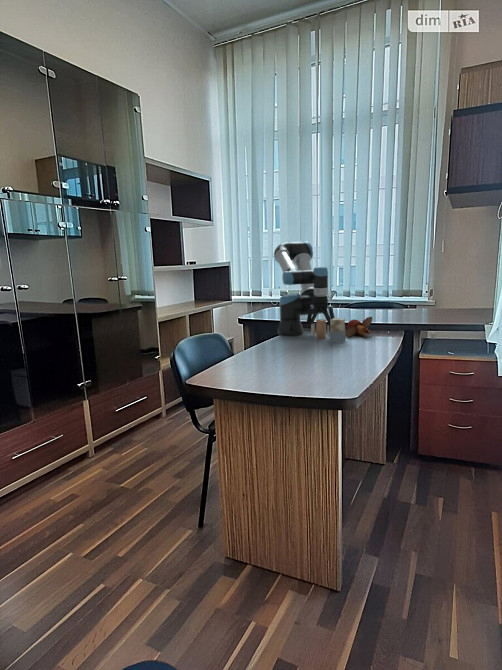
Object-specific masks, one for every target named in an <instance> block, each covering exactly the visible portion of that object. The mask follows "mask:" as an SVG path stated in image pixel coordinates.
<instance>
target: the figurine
mask: <svg viewBox="0 0 502 670" xmlns="http://www.w3.org/2000/svg"><path fill="white" fill-rule="evenodd" d="M372 322H373V316H368V317H365V318H364V319H363V320H362V322H361V321H360V320H359V319H351V320H348V323H347V324H346V327H347V330H346V334H345V338H346V337H347V338H348V337H352V336H355V335H360V336H363V338H366V337H367V336H369V335H370V334H372V329H368V327H369V326H370V325H371V324H372Z"/></svg>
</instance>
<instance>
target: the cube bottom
mask: <svg viewBox="0 0 502 670" xmlns="http://www.w3.org/2000/svg"><path fill="white" fill-rule="evenodd" d="M346 331H347V330H346V329H345V330H343V331H342V332H338V331H330V337H329V342H330V343H334V344H335V343H336V344H342V343H343V342H346V336H345V334H346Z"/></svg>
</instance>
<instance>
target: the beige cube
mask: <svg viewBox="0 0 502 670" xmlns="http://www.w3.org/2000/svg"><path fill="white" fill-rule="evenodd" d="M345 324H346V318H342V317H335V318H333V319H331V320H330V331H338V332H342V331H343V330H346V325H345Z"/></svg>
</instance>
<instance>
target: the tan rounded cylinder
mask: <svg viewBox="0 0 502 670" xmlns="http://www.w3.org/2000/svg"><path fill="white" fill-rule="evenodd" d="M315 335H316V337H315V338H316V339H318V340H323V339H326V338H327V320H326V319H324V318H323V319H315Z"/></svg>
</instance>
